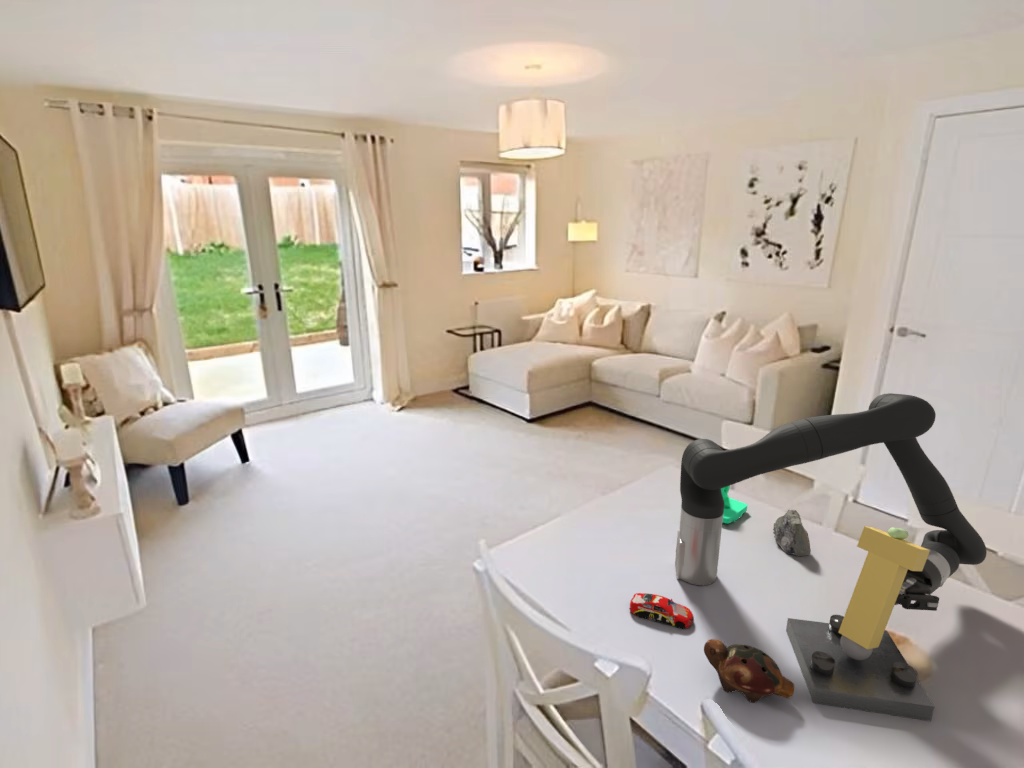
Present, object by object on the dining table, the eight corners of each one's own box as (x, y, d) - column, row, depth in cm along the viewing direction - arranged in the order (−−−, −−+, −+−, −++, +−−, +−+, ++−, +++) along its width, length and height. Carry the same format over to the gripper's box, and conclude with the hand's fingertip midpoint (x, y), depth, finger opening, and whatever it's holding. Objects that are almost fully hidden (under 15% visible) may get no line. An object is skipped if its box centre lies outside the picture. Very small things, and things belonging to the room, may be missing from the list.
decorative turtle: (700, 657, 105) (707, 622, 103) (786, 685, 99) (795, 648, 97) (696, 693, 96) (704, 656, 94) (791, 727, 90) (801, 687, 88)
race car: (695, 617, 116) (696, 601, 115) (691, 634, 111) (693, 617, 110) (633, 600, 121) (634, 584, 120) (627, 615, 116) (628, 599, 115)
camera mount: (727, 527, 149) (731, 494, 147) (701, 517, 155) (705, 484, 152) (747, 512, 157) (751, 480, 154) (722, 503, 163) (726, 472, 160)
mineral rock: (776, 525, 150) (781, 492, 147) (819, 539, 143) (825, 505, 140) (761, 545, 141) (766, 511, 138) (806, 561, 134) (812, 525, 131)
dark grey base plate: (813, 702, 94) (817, 679, 93) (785, 629, 112) (788, 608, 110) (930, 721, 91) (937, 697, 89) (883, 642, 108) (888, 621, 106)
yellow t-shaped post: (872, 675, 94) (924, 539, 93) (820, 643, 102) (867, 517, 100) (883, 672, 97) (933, 540, 96) (832, 641, 105) (878, 518, 103)
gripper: (887, 540, 114) (845, 568, 105) (964, 572, 104) (923, 606, 95) (881, 571, 116) (838, 601, 107) (955, 606, 106) (915, 642, 97)
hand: (878, 603), depth 101 cm, fingers closed
